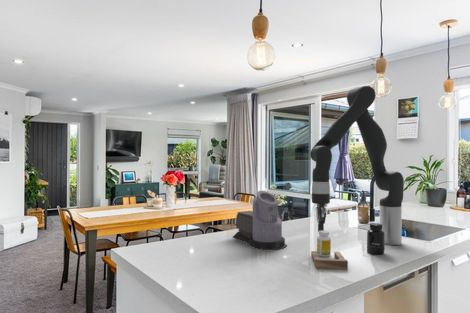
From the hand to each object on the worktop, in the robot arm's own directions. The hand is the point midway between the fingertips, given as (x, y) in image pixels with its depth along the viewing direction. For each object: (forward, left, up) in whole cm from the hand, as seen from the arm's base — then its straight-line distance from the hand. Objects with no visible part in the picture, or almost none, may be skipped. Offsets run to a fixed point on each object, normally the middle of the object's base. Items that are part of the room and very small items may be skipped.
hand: (320, 232), depth 139 cm
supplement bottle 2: (+2, +22, -8) cm, 23 cm away
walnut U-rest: (+17, 0, -8) cm, 19 cm away
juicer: (-10, -27, -8) cm, 30 cm away
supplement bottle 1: (+7, 0, -8) cm, 10 cm away
